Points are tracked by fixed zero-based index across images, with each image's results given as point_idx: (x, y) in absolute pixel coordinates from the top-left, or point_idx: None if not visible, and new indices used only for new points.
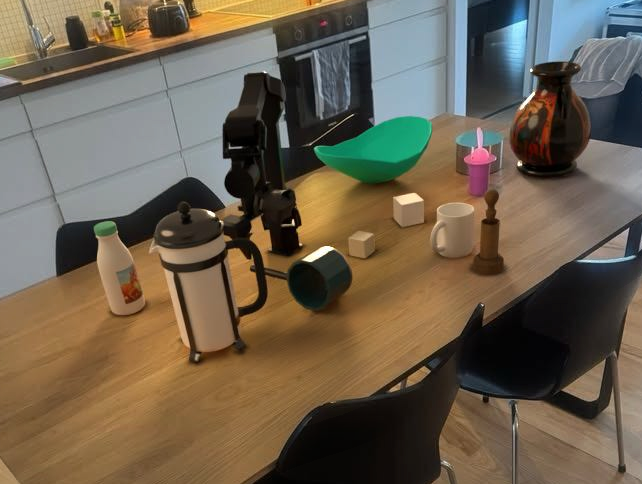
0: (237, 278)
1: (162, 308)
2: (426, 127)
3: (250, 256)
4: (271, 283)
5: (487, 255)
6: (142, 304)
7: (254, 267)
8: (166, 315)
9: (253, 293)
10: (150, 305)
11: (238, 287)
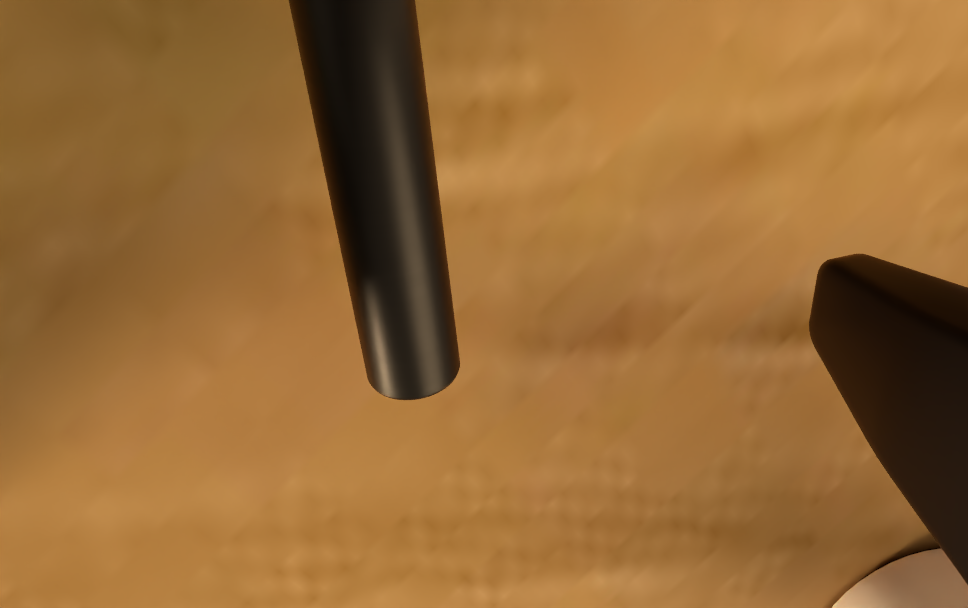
0: (302, 492)
1: (856, 497)
2: None
3: (918, 277)
4: (146, 222)
5: None
6: (903, 578)
7: (438, 327)
8: None
9: None
10: (846, 560)
11: None
